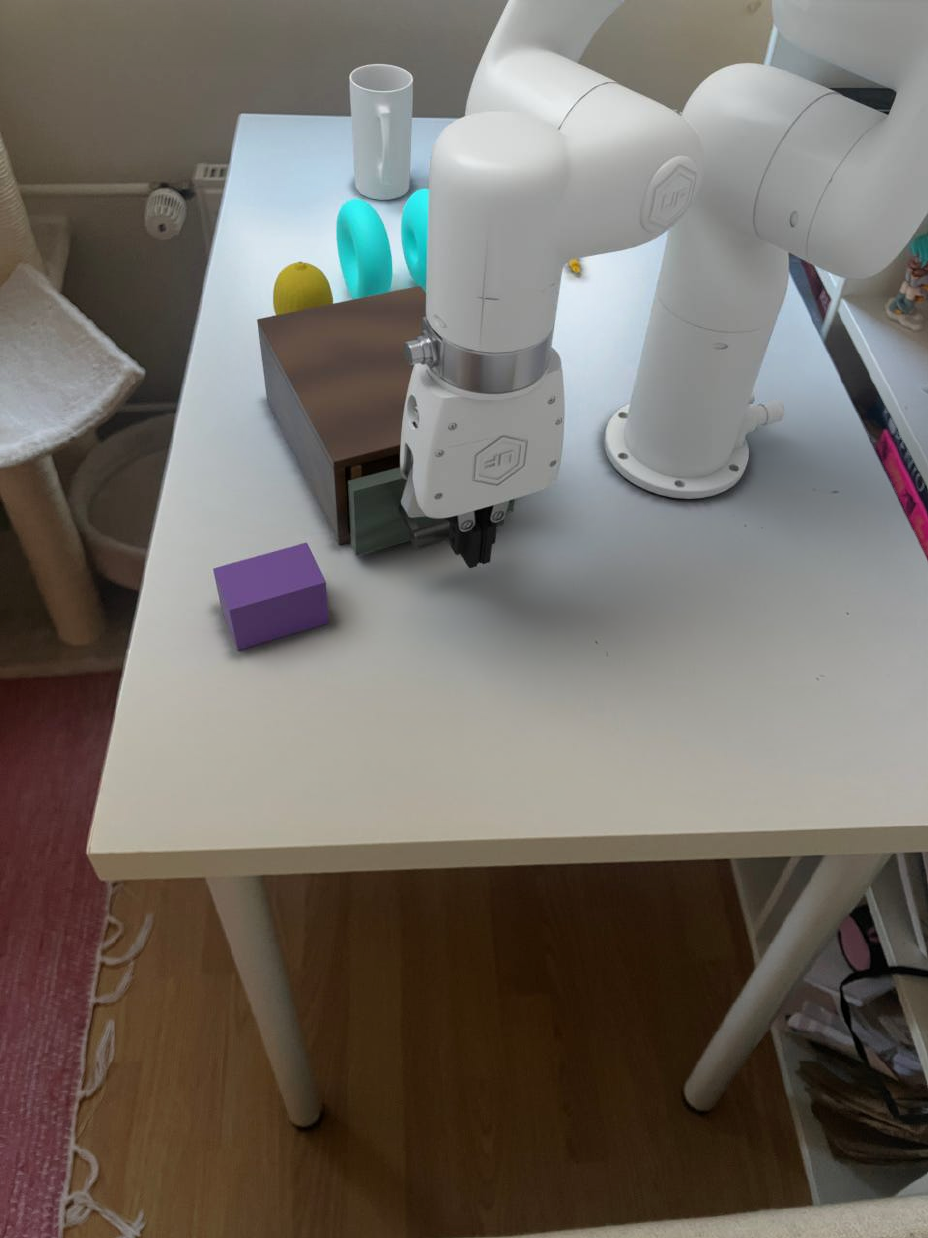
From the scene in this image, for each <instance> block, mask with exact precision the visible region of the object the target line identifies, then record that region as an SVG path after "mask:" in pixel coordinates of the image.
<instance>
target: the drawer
mask: <svg viewBox="0 0 928 1238" xmlns="http://www.w3.org/2000/svg"><path fill="white" fill-rule="evenodd" d="M345 473H346V492H347V511H348V517H349V518H350V534H351V541H350V546H351V549H352V550H353V552H354V554H355V556H356V557H358V556H362V555H365V554H368V553H371V552H375V551H379V550H383V549H385V548H389V547H393V546H396V545H400V544H404V543H407V542H411V545H412V547H413V549H414V550H415V551H420V550H424V549H426V548H430V547H433V546H437V545H440V544H444V543H449V525H450V522H449V521H447V520H445V519H443V518H430V517H427V516H425V517H415V518H410V517H408V515H407V513H406V511H405V510H404V508H403V506H402V505H401V499H402V496H403V493H404V489H405V486H406V482H407V480H405V479H404V478H403V477H402V474H401V468H400V453H399V454H396V455H392V456H388V457H384V458H380V459H376V460H372V461H368V462H364V463H361V464H357V465H353V466H349V467H345ZM515 500H516V499H514V500H513V501H512V502H511V503H510V504H509V505H508V509H507V512H506V514H508V513H511V512H514V507H515ZM502 526H504V518H503V519H502V520H501V521H499V522H497V528H499V527H502Z"/></svg>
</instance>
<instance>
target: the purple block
mask: <svg viewBox="0 0 928 1238" xmlns="http://www.w3.org/2000/svg"><path fill="white" fill-rule="evenodd" d="M212 571H213V575H214V581H215V585H216V590H217V595H218V599H219V604H220V608H221V612H222V614H223V617H224V619H225V622H226V625H227V628H228V630H229V632H230V636H231V638H232V640H233V643H234V645H235V649H236V650H237V651H241V650H244V649H248V648H250V647H251V648H252V647H254V646H257V645H260V644H264V643H268V642H270V641H274V640H277V639H280V638H283V637H286V636H289V635H292V634H296V633H300V632H303V631H306V630H309V629H312V628H316V627H319V626H323V625H326V624H329V623H330V615H329V614H330V613H329V604H328V602H329V601H328V591H327V582H326V579H325V577H324V575H323V573H322V570H321V569H320V567H319V565H318V563H317V560H316V558H315V556H314V554H313V552H312V550H311V547H310V546H309V544H308V542H304V543H299V544H296V545H292V546H288V547H284V548H282V549H277V550H275V551H270V552H267V553H264V554H260V555H257V556H253V557H248V558H245V559H242V560H239V561H235V562H231V563H228V564H224V565H221V566H217V567H214V568H213V569H212Z"/></svg>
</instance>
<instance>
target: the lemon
mask: <svg viewBox="0 0 928 1238" xmlns="http://www.w3.org/2000/svg"><path fill="white" fill-rule="evenodd" d="M333 296H334V295H333V291H332V289H331V286H330V282H329V280H328V278H327V276H326V275H325V274H324V272H323V271H322V270H321V269H320V268H318V267H317V266H316V265H314V264H312V263H308V262H304V261H297V262H294V263H290V264H289V265H287V266H285V267H284V268H283V269H282V270H281V271H280V272H279V273H278V275H277V277H276V279H275V281H274V285H273V292H272V305H273V312H274V315H280V314H285V313H290V312H295V311H300V310H305V309H309V308H314V307H319V306H324V305H329V304H334V297H333Z"/></svg>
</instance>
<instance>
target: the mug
mask: <svg viewBox="0 0 928 1238" xmlns="http://www.w3.org/2000/svg"><path fill="white" fill-rule="evenodd" d="M348 78H349V103H350V119H351V120H350V121H351V137H352V138H351V139H352V155H353V157H352V158H353V176H354V185H355V189H356V190H357V192H358V193H359V194H361V195H362V196H364V197H365V198H369V199H373V200H378V201H389V200H394V199H399V198H401V197H403V196H404V195H406V194H407V193H408V192H409V189H410V183H411V182H410V181H411V166H412V165H411V162H412V161H411V160H412V135H413V134H412V131H413V103H414V101H413V100H414V77H413V75H412V74H411V72H409V71H408V70H406V69H404V68H402V67H400V66H397V65H392V64H387V63H386V64H385V63H373V64H372V63H371V64H366V65H361V66H359V67H356V68H355V69H353V70H352V71H351V72H350V73H349V77H348Z"/></svg>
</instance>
